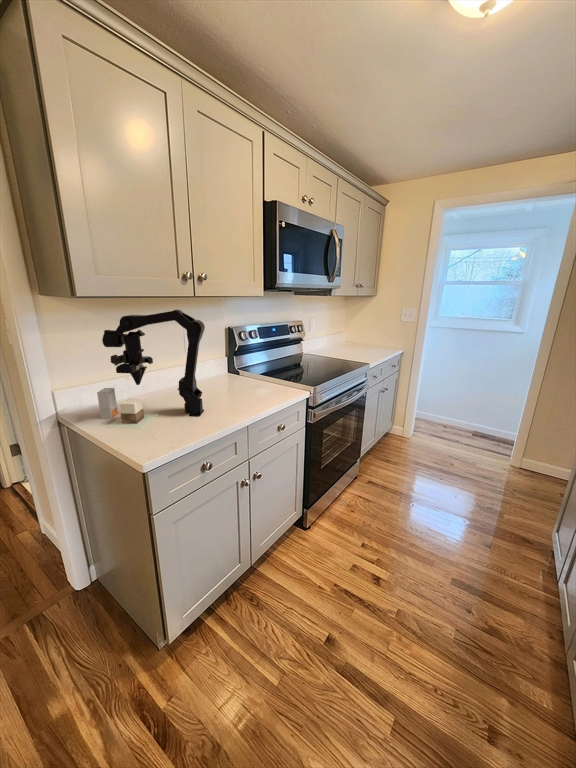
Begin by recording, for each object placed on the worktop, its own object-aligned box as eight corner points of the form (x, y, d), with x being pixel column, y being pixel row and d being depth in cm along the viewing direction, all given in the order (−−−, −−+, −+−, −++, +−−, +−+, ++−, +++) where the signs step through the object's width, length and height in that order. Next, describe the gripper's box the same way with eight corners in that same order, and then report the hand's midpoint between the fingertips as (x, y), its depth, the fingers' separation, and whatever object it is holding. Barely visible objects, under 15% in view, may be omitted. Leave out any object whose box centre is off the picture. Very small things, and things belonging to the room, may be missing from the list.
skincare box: (112, 420, 127) (107, 392, 124) (101, 420, 127) (96, 392, 123) (118, 414, 133) (114, 387, 129) (108, 414, 132) (103, 387, 129)
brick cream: (142, 408, 127) (141, 399, 125) (135, 413, 121) (134, 404, 120) (129, 408, 127) (127, 398, 126) (121, 413, 122) (120, 403, 120)
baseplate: (158, 416, 132) (158, 414, 132) (142, 430, 118) (142, 428, 118) (125, 415, 132) (125, 413, 132) (106, 429, 119) (105, 427, 119)
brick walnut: (144, 417, 128) (143, 408, 127) (137, 423, 122) (135, 414, 121) (130, 417, 128) (128, 408, 127) (121, 423, 122) (120, 413, 121)
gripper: (125, 343, 135) (130, 378, 139) (99, 351, 117) (105, 391, 121) (151, 343, 135) (155, 378, 139) (128, 351, 117) (134, 391, 121)
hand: (138, 384), depth 130 cm, fingers closed
